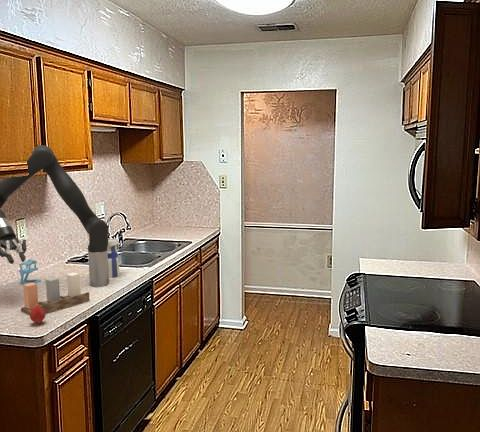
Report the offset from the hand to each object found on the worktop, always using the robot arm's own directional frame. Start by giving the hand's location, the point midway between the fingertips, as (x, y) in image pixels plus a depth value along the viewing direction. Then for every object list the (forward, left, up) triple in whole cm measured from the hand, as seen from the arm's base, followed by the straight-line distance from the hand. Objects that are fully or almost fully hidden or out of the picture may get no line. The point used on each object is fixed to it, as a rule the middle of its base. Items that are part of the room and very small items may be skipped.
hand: (18, 261), depth 212 cm
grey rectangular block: (-4, +13, -18) cm, 23 cm away
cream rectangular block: (-13, +18, -18) cm, 29 cm away
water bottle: (-51, +19, -20) cm, 58 cm away
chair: (-32, -17, -20) cm, 42 cm away
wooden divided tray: (-3, +15, -20) cm, 25 cm away
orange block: (+5, +8, -18) cm, 20 cm away
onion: (+17, +19, -20) cm, 32 cm away
